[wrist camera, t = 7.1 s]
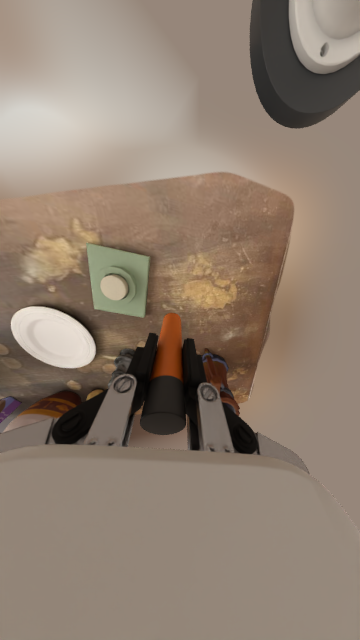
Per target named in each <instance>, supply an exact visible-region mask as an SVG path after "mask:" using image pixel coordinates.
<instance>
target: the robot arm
mask: <svg viewBox="0 0 360 640" xmlns="http://www.w3.org/2000/svg"><path fill="white" fill-rule="evenodd" d="M289 25H290V35H291V39H292V43H293V46H294V50H295V52H296V54H297V56H298V58H299V60H300V62H301V63H302V64H303V65H304V66H305V67H306V69H308V70H310V71H312V72H314V73H318V74H327V73H332V72H335V71H337V70H339V69H341V68H343V67H345V66H346V65H348V64H349V63H350V62H352V61H353V60H354V59H356V58H357V57H358V56H359V55H360V0H289ZM157 343H158V336H157V335H156V334H155V333H149V336H148V339H147V342H146V345H145V347H144V348H143V347H137V349H136V351H135V353H134V355H133V358H132V360H131V362H130V365H129V367H128V369H127V372H126V374H122V375H120V376H118V377H116V378H115V379H114V380H113V382H112V383H111V385H110V387H109V388H108V389H107V390H105V391H103V392H101V393H99V394H98V395H96V396H94V397H92V398H90V399H89V400H87V401H85V402H83V403H81V404H80V405H78V406H76V407H74V408H72V409H71V410H69V411H67V412H66V413H64V414H63V415H62V416H61V417H59V418H56V419H54V417H52V418H49V419H46V420H42V421H39V422H36V423H32V424H29V425H26V426H22V427H19V428H16V429H12V430H9V431H6V432H3V433H0V640H360V531H359V530H358V528H357V527H356V526H355V524H354V523H353V521H352V520H351V518H350V517H349V516H348V514H347V513H346V512H345V510H344V509H343V508H342V506H341V505H340V504H339V502H338V501H337V500H336V499H335V497H334V496H333V495H332V494H331V493H330V492H329V491H328V490H327V488H325V487H324V486H323V485H322V484H321V483H320V482H319V481H317V480H316V479H315V478H314V477H312V476H311V475H310V474H309V471H308V469H307V467H306V465H305V464H304V463H303V461H302V459H301V458H299V456H298V455H297V454H295V453H294V452H293V451H291V450H289V449H288V448H286V447H284V446H282V445H280V444H278V443H277V442H275V441H273V440H271V439H269V438H267V437H266V436H264V435H262V434H260V433H258V432H257V433H254V432H253V430H252V429H251V428H250V427H249V425H247V423H245V422H244V421H243V420H242V419H241V418H240V417H239V416H238V415H237V414H235V413H234V412H233V411H232V410H231V409H230V408H229V407H228V406H227V405H225V404H224V403H223V402H222V401H221V398H220V394H219V392H218V390H217V389H216V387H215V386H213V385H212V384H210V383H207V379H206V374H205V370H204V366H203V361H202V357H201V355H196V349H195V344H194V339H190V338H187V340H184V344H183V348H182V361H183V384H184V390H185V410H186V414H187V432H188V450H175V449H157V448H139V447H128V442H129V439H130V434H131V430H132V426H133V421H134V417H135V412H137V411H138V410H139V409H140V408H141V406H143V402H144V401H145V397H146V393H147V388H148V384H149V382H150V379H151V374H152V370H153V365H154V360H155V356H156V350H157Z"/></svg>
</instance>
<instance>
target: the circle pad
mask: <svg viewBox="0 0 360 640" xmlns="http://www.w3.org/2000/svg"><path fill="white" fill-rule="evenodd" d="M100 288H101V291H102V292H103V294H104V295H105V296H106V297H107V298H109V299H111V300H121V299H122V298H124V297H125V296H126V295H127V293H128V291H129V287H128V284H127V282H126V280H125V279H124V278H123V277H121V276H119V275H116V274H112V275H108V276H106V277H104V278H103V279H102V280H101V283H100Z"/></svg>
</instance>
